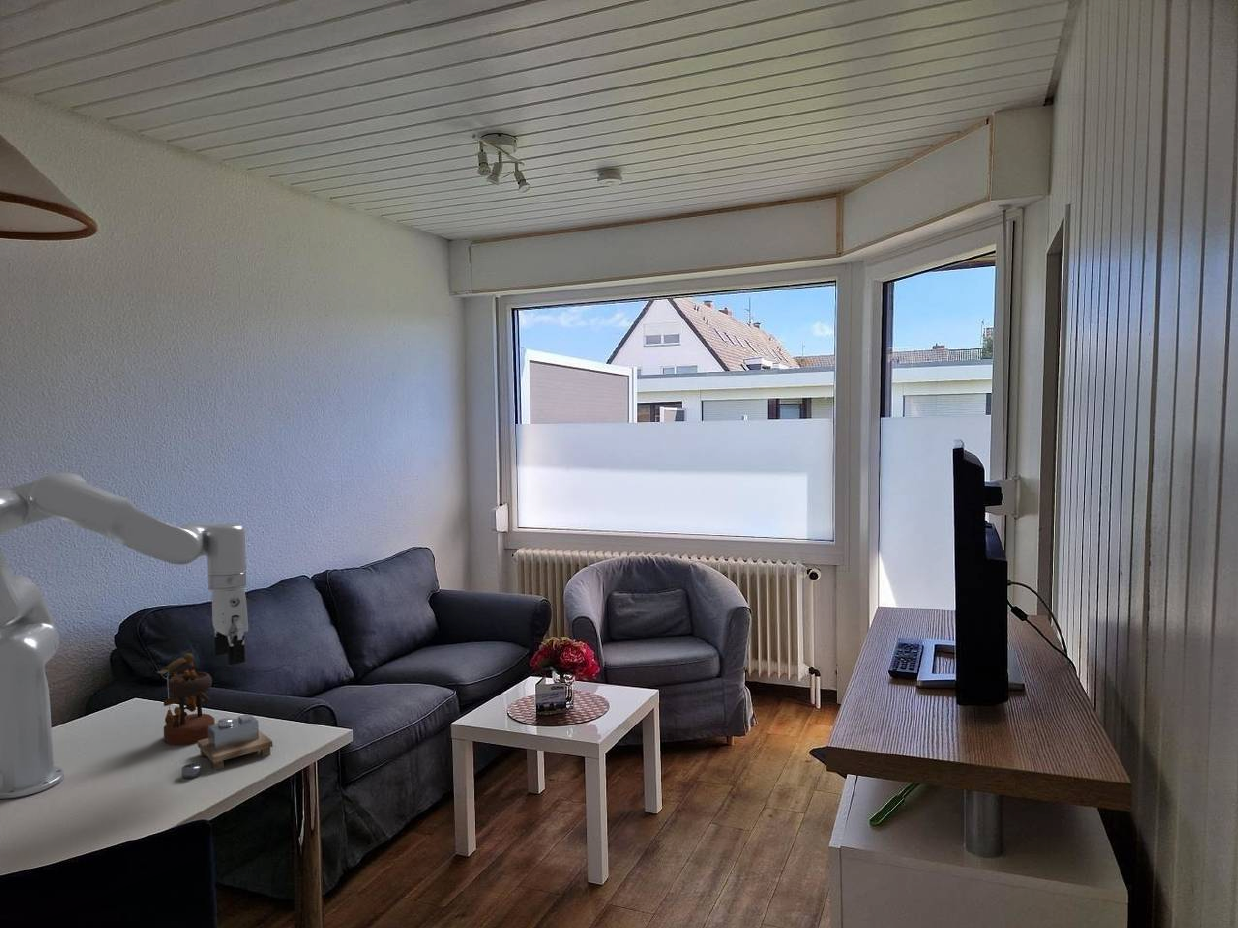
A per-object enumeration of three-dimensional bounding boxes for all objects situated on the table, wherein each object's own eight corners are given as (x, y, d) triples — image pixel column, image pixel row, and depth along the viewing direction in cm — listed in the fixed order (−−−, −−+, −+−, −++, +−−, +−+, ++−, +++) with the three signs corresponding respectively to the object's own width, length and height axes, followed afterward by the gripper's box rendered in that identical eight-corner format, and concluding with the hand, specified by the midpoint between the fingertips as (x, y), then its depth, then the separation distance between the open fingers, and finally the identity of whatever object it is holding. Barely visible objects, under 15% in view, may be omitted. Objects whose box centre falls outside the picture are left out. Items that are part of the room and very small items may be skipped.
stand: (213, 771, 169) (213, 757, 169) (198, 753, 178) (197, 740, 178) (272, 754, 177) (272, 741, 177) (254, 738, 186) (254, 726, 186)
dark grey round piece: (184, 781, 164) (183, 772, 164) (179, 776, 167) (179, 766, 167) (203, 776, 167) (203, 767, 167) (198, 770, 169) (198, 761, 169)
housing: (259, 738, 178) (258, 716, 178) (215, 750, 172) (214, 727, 172) (251, 732, 182) (250, 710, 182) (208, 743, 176) (207, 721, 176)
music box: (191, 749, 180) (179, 661, 179) (148, 750, 182) (137, 663, 182) (235, 723, 195) (225, 642, 194) (195, 724, 197) (185, 644, 196)
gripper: (258, 584, 171) (260, 663, 172) (233, 573, 184) (235, 647, 185) (220, 589, 166) (223, 671, 167) (197, 577, 179) (199, 653, 180)
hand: (229, 658), depth 176 cm, fingers open, 9 cm apart
